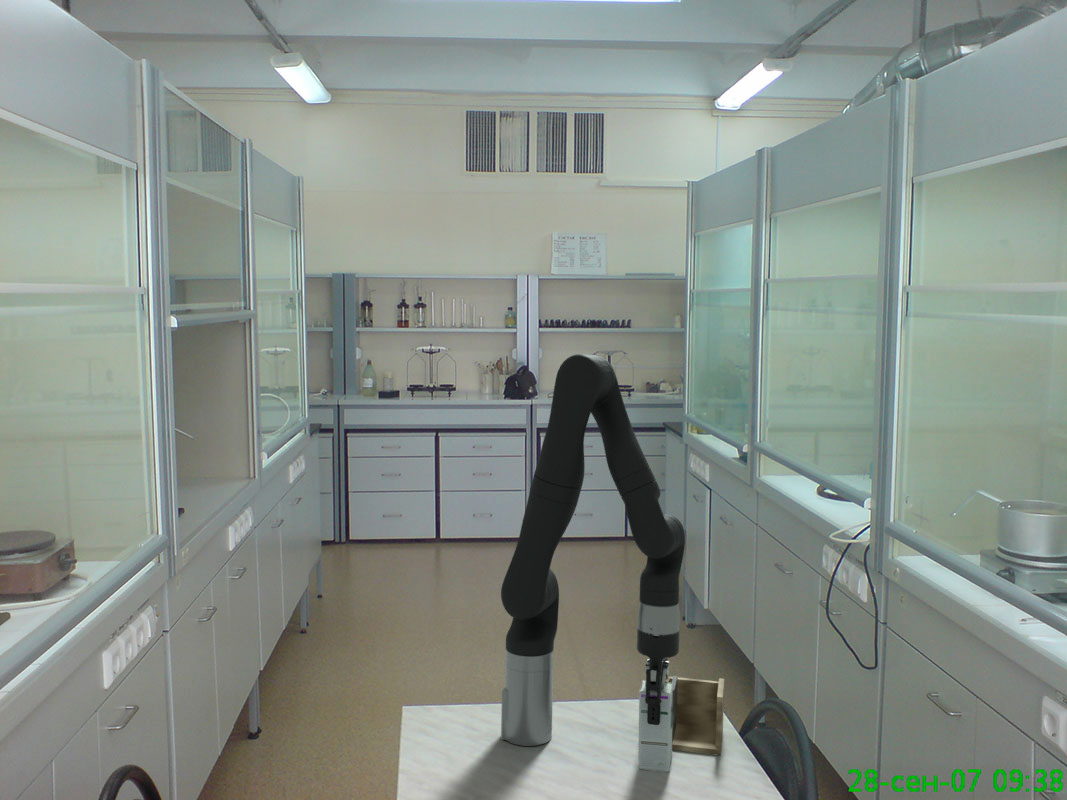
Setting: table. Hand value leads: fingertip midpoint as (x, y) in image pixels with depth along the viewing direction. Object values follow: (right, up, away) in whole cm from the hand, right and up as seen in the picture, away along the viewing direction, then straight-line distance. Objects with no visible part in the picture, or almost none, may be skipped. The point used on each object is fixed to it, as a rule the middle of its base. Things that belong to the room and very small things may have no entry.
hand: (656, 714), depth 164 cm
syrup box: (0, -9, +1) cm, 9 cm away
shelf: (+7, -9, +11) cm, 16 cm away
